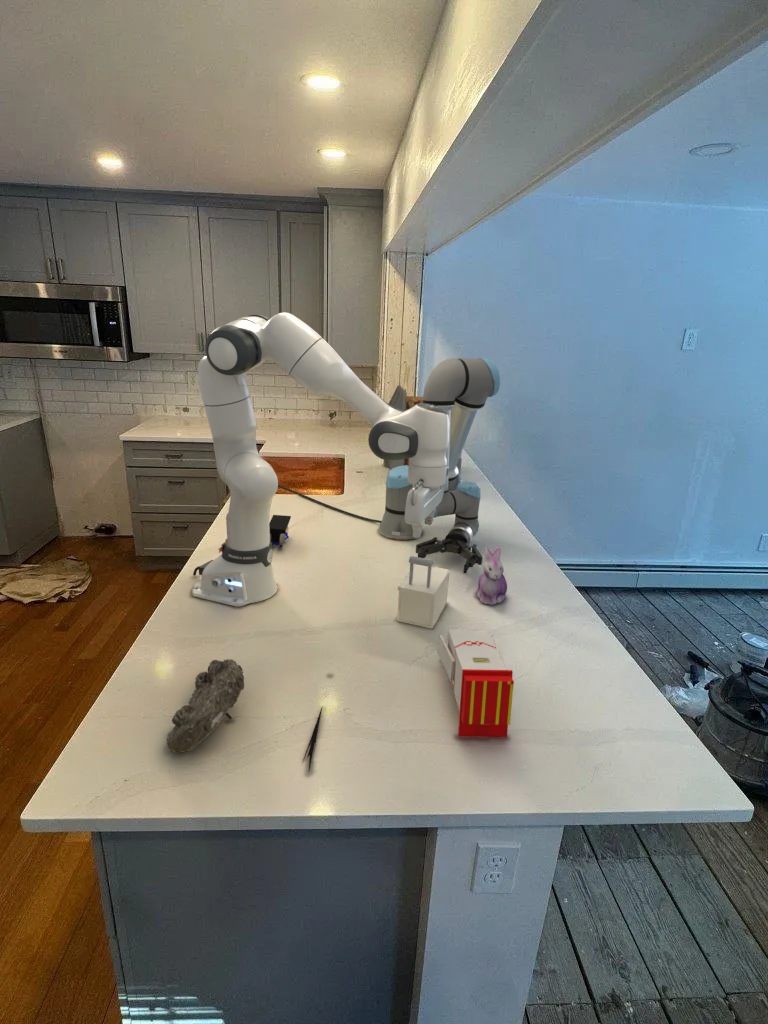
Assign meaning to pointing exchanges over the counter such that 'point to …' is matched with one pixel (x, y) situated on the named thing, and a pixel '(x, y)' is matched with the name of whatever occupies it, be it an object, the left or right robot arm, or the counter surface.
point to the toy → (478, 682)
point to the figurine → (492, 579)
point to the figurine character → (279, 529)
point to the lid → (423, 578)
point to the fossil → (206, 705)
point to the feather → (313, 740)
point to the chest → (422, 607)
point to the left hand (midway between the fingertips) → (422, 530)
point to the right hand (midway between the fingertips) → (441, 564)
